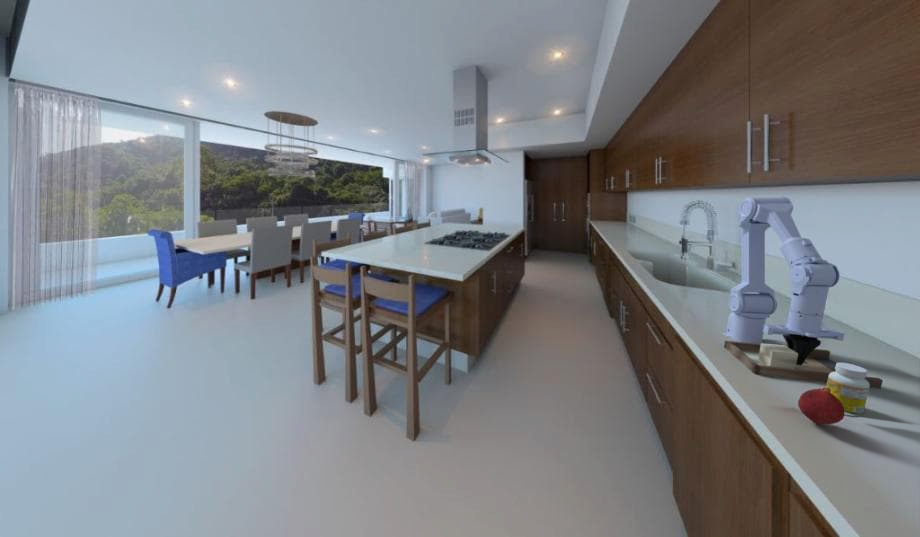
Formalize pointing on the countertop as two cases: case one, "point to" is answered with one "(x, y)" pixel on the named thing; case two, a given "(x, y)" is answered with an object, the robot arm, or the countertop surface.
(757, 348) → the wooden tray
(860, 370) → the supplement bottle
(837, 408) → the red oval lump
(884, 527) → the countertop surface
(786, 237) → the robot arm
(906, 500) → the countertop surface
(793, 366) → the cream cube
